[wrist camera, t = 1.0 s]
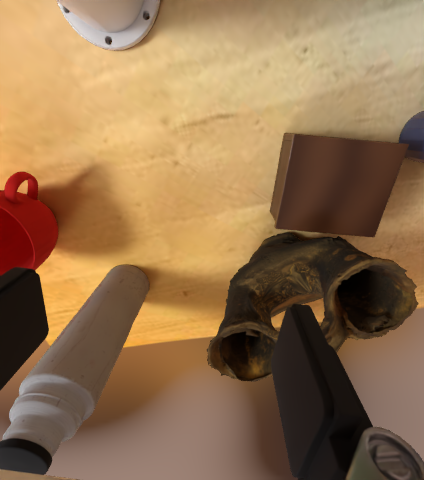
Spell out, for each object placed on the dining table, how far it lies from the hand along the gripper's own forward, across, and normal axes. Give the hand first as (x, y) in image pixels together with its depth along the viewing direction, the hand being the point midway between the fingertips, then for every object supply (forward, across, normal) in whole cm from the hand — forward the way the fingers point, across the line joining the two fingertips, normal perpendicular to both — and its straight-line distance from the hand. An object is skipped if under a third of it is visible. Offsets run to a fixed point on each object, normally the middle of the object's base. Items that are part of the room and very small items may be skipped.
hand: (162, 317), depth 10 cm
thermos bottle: (+32, +13, +21) cm, 41 cm away
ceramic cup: (+32, +27, +9) cm, 43 cm away
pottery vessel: (+32, -13, +13) cm, 37 cm away
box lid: (+25, -16, -2) cm, 30 cm away
